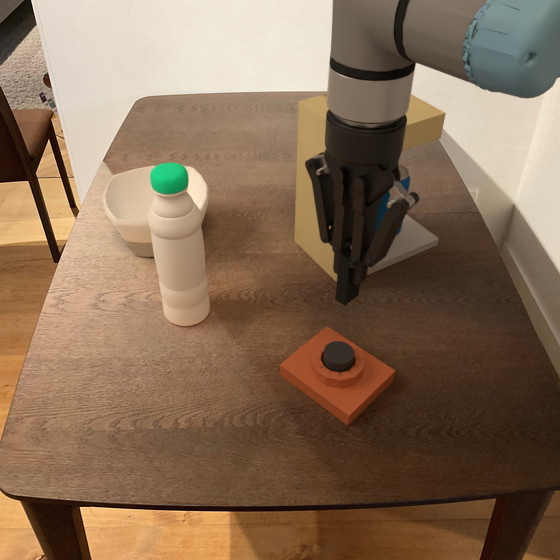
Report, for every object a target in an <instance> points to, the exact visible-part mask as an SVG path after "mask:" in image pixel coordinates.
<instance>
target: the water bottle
mask: <svg viewBox="0 0 560 560" xmlns="http://www.w3.org/2000/svg"><path fill="white" fill-rule="evenodd" d="M155 166H156V167H154V168H153V169H152V171H151V173H150V181H151V186H152V188H153V191H154V192H155V193H156V196H155V198H154V200H153V203H152V206H151V209H150V211H149V215H148V224H149V227H150V229H151V236H152V246H153V252H154V257H153V258H154V262H155V268H156V271H157V275H158V280H159V281H158V285H159V293H160V296H161V300H162V301H161V302H162V310H163V315H164V317H165V319H166V320H167V321H168V322H169V323H171V324H173V325H175V326H178V327H191V326H195V325H197V324H199V323H202V322H203V321H204V320H205V319H206V318H207V317H208V315H209V314H210V311H211V301H210V295H209V292H208V291H209V286H208V285H209V284H208V281H209V280H208V277H207V273H206V269H207V268H206V266H207V265H206V252H205V242H204V234H203V229H202V225H201V212H200V210H199V208H198V206H197V205H196V204H195V202H194V201H193V199H192V197H191V196H190V195H189V194H188V193H187V192H186V190H187V189H188V182H189V179H188V172H187V170H186V168H185V167H184V166H185V165H183V164H181V163H178V162H163V163H160V164H157V165H155Z"/></svg>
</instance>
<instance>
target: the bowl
mask: <svg viewBox="0 0 560 560" xmlns="http://www.w3.org/2000/svg"><path fill="white" fill-rule="evenodd" d="M156 166H157V165H150V166H149V165H148V166H145V167H138V168H133V169H130V170H126V171H123V172H120V173H116V174H114V175H113V176H112V177H111V179H110V180H109V182H108V183H107V185H106V186H105V189H104V193H103V196H102V206H103V208H104V209H103V210H104V212H105V215H106V216H107V217H108V219H109V220H110V222H111V223H112V224H113V226H114V227H115V229H116V231H118V234H119V235H120V236H121V237H122V238H123V240H124V241H125V243H126V245H128V247H129V249H130V250H131V251H132V253H133V254H134V255H135V257H145V258H154V252H153V246H152V236H151V229H150V227H149V224H148V215H149V211H150V209H151V206H152V203H153V200H154V198H155V196H156V193H155V192H154V191H153V188H152V186H151V181H150V173H151V171H152V169H153V168H154V167H156ZM183 166H184V167H185V168H186V170H187V172H188V179H189V182H188V189H187V190H186V192H187V193H188V194H189V195H190V196H191V197H192V199H193V201H194V202H195V204H196V205H197V206H198V208H199V210H200V212H201V226H202V225H203V222H204V219H205V215H206V214H207V213H206V212H207V209H208V206H209V202H210V188H209V185H208V184H207V182H206V180H205V178H204V176H203V175H201V174H200V172H198V171H197V170H196V169H195V168H194V167H193V166H191V165H190V166H189V165H183Z"/></svg>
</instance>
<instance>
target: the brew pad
mask: <svg viewBox="0 0 560 560" xmlns="http://www.w3.org/2000/svg"><path fill="white" fill-rule="evenodd" d="M333 341H342V342H346V343H348V344H349V345H350V346H351V347H352V348H353V350H354V360H353V365H352V367H351V368H350V369H349V370H347V371H345V372H334V371H331V370H329V369H328V368H327V367H326V366H325V365H324V362H323V355H324V348H325V347H326V345H327V344H329V343H330V342H333ZM395 374H396V370H395V369H394V368H392V367H391V366H389V365H387V364H386V363H384V362H383V361H381V360H380V359H378V358H377V357H375V356H374V355H372V354H371V353H369V352H368V351H366V350H365V349H363V348H362V347H360V346H358V345H356V344H355V343H354V342H352V341H351V340H349V339H347V337H344V336H343V335H342V334H340V333H338V332H337V331H335V330H334V329H332V328H330V327H329V326H325V327H324V328H323V329H321V330H320V331H319V332H318V333H317V334H316V335H314V336H313V337H312V338H310V339H309V340H308V341H306V342H305V343H304V344H303V345H302V346H301V347H299V348H298V349H297V350H295V352H293V353H291V354H290V355H289V356H288V357H287V358H286V359H285V360H283V361H282V362H281V363H279V376H281V377H282V378H283V379H285V380H286V381H287V382H289V384H292V385H293V386H294V387H295V388H297V389H298V390H300V391H301V392H302V393H303V394H304V395H306V396H307V397H309V398H310V399H311V400H312V401H314V402H315V403H316V404H318V405H320V406H321V408H323V409H325V410H326V411H327V412H329V413H330V414H331V415H333V416H334V417H335V418H336V419H337V420H339V421H341V422H342V423H343V424H345V426H349V425H350V424H352V423H353V422H354V421H355V419H356V418H357V417H358V416H360V415H361V414H362V413H363V412H364V411H365V410H366V408H368V406H370V405H371V404H372V403H373V402H374V400H376V399H377V398H378V397H379V396H380V395H381V394H382V393H383V392H384V391H385V390H386V389H387V388H388V387H389V386H390V385H391V384H392V383H393V382H394V380H395Z"/></svg>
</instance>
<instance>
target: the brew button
mask: <svg viewBox="0 0 560 560" xmlns="http://www.w3.org/2000/svg"><path fill="white" fill-rule="evenodd" d="M353 360H354V350H353V348H352V347H351V346H350V345H349V344H348V343H346V342H342V341H333V342H330V343H329V344H327V345H326V347H325V348H324V355H323V362H324V365H325V366H326V367H327V368H328V369H329V370H331V371H334V372H345V371H347V370H349V369H350V368H351V367H352V365H353Z"/></svg>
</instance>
